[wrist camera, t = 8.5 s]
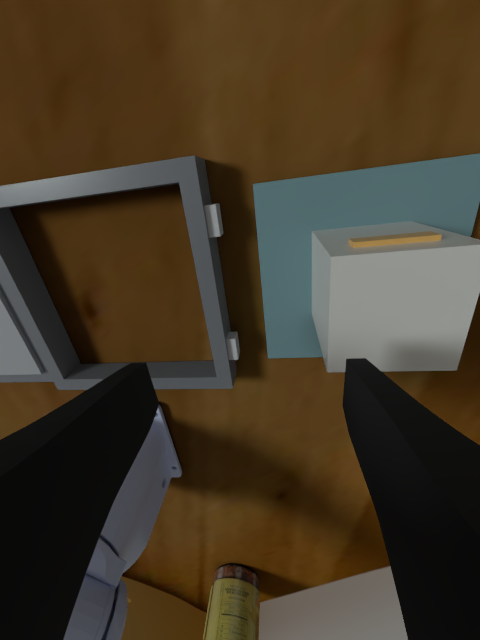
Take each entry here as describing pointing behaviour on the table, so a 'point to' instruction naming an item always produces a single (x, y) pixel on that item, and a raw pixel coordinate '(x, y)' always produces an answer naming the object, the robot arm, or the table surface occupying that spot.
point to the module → (394, 295)
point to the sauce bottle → (233, 605)
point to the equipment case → (41, 315)
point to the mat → (341, 212)
